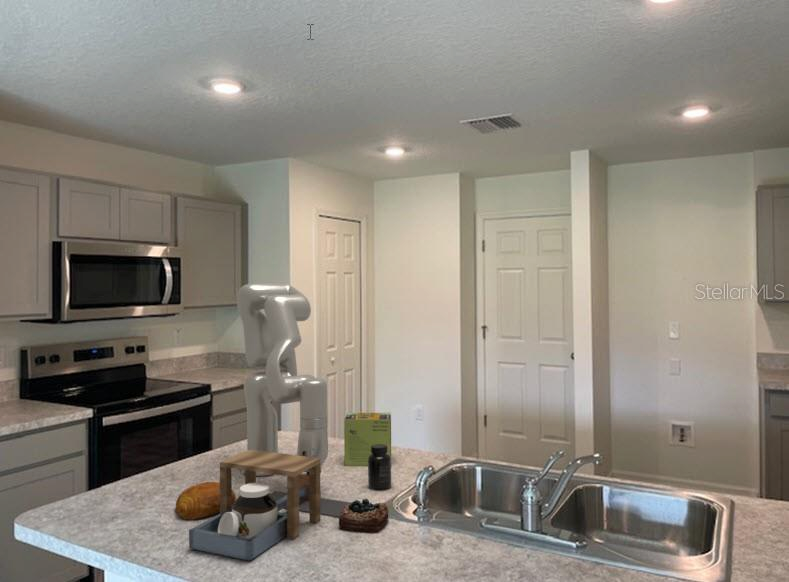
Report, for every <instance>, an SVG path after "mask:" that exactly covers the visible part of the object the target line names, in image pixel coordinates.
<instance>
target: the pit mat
mask: <svg viewBox="0 0 789 582" xmlns="http://www.w3.org/2000/svg"><path fill="white" fill-rule="evenodd" d="M269 493H270V494H271V495H272V496H273V497H274V499H275V501H277V500H279V499H281V498H283V497H284V496H286V495H287V492H284V491H283V492H282V491H279V490H278V491H277V490H274V491H273V492H269ZM351 502H352V501H351ZM351 502H349V501H344V500H343V501H342V500H338V499H337V500H336V499H331V498H330V499H329V498H324V497H320V508H321V516H328V517H332V518H338V519H339V516H340V514H341V511H342V510H343V509H344V507H345V506H346V505H348V504H349V503H351ZM283 509H284V510H287V507H285V508H283ZM283 509H282V510H283ZM299 512H303V513H307V514H309V499H302V498H300V499H299Z"/></svg>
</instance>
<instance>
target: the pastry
mask: <svg viewBox="0 0 789 582" xmlns="http://www.w3.org/2000/svg"><path fill="white" fill-rule="evenodd" d="M388 508H389V506H388V505H387V503H386V502H375V503H372V502H370V501H369V499H368V498H363V499H362V501H360V500H358V499H355V500H353V501H351V503H349V504H348V505H346V506H345V507H344V509H343V510H342V511H341V514H340V516H339V518H338V522H339V523H338V525H339V530H341V531H349V532H355V533H356V532H357V533H369V534H371V535H372V534H378V533H379V532H380V531H382V529H383V528H384V527H385V526H386V525H387V523H388V520H389V509H388Z"/></svg>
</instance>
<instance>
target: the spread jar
mask: <svg viewBox="0 0 789 582" xmlns="http://www.w3.org/2000/svg"><path fill="white" fill-rule="evenodd" d="M270 493H271V492H270V484H269V483H265V482H257V481H256V483H249V484H245V483H244V484H242V485H241V486H240V487H239V496H238V497H236V500H235V502H234V504H233V505H232V512H226V513H225V514H224V515H223V516H222V517H221V519H220V522H219V525H218V533H221V534H226V535H232V536H237V537H242V538H247V539H249V538H251V537H252V536H254V535H256V534H257V533H259V532H260V531H262V530H263V529H265V528H267V527H268V526H270V525H271V524H273V523H274V522H276V521H277V503H276V501H275V499H274V497H273V496H272V495H271V494H270Z"/></svg>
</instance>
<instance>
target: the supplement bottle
mask: <svg viewBox="0 0 789 582" xmlns="http://www.w3.org/2000/svg"><path fill="white" fill-rule="evenodd" d="M387 452H388V450H387V445H384V444H375V445H372V446H371V453H372V454H371V455H370V456H369V457H368V466H367V474H368V475H367V477H368V478H367V481H368V485H367V486H368V488H370V489H371V490H373V491H374V490H375V491H383V490H388V489H390V488H391V487H392V456H391V457H390V455H388V454H387Z"/></svg>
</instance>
